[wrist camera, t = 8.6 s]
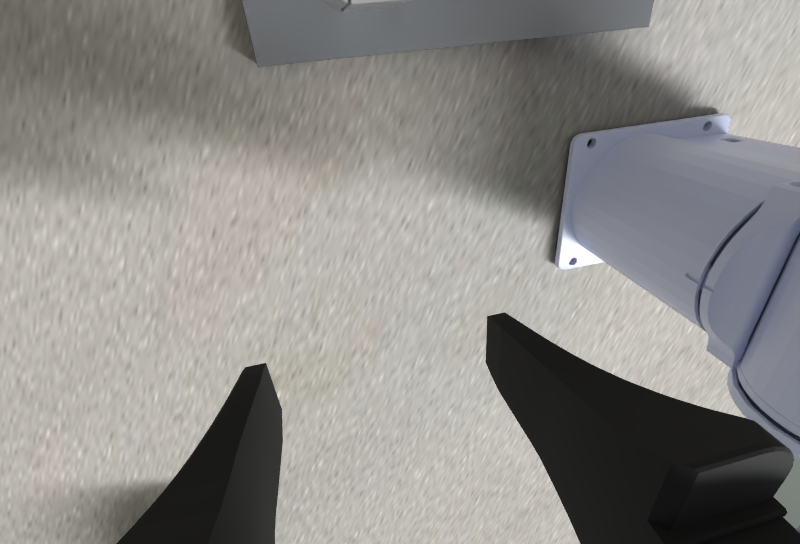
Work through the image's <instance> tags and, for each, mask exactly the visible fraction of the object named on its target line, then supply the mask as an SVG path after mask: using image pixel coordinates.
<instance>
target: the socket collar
mask: <svg viewBox="0 0 800 544" xmlns="http://www.w3.org/2000/svg"><path fill="white" fill-rule="evenodd" d="M319 1H321V2H323V3H325V4H326V5H328V6H330V7H332V8H334V9H335V10H337V11H340V10H341V9H342V12H352V11H364V10H375V9H387V8H395V7H397V6H400V5H402V4H404V3H406V2H409V1H411V0H319Z"/></svg>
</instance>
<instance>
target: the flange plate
mask: <svg viewBox="0 0 800 544" xmlns="http://www.w3.org/2000/svg"><path fill="white" fill-rule="evenodd" d="M653 2H654V0H411V1H409V2H406V3H404V4H402V5H400V6H397V7H395V8H387V9H375V10H364V11H352V12H342V9H341V10H340V11H337V10H335V9H334V8H332V7H330V6H328V5H326V4H325V3H323V2H321V1H319V0H242V3H243V7H244V11H245V15H246V19H247V24H248V28H249V32H250V36H251V41H252V45H253V49H254V53H255V57H256V62H257V66H258V67H260V66H270V65H280V64H290V63H300V62H309V61H319V60H329V59H339V58H348V57H358V56H368V55H378V54H388V53H397V52H407V51H417V50H427V49H437V48H446V47H456V46H466V45H476V44H486V43H495V42H505V41H515V40H525V39H534V38H544V37H554V36H564V35H574V34H583V33H593V32H603V31H613V30H623V29H632V28H642V27H649V22H650V17H651V12H652V7H653Z"/></svg>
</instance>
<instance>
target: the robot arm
mask: <svg viewBox="0 0 800 544" xmlns="http://www.w3.org/2000/svg"><path fill="white" fill-rule="evenodd" d="M730 122H731V118H730V116H729V115H728V114H722V113H719V114H712V115H706V116H699V117H692V118H685V119H678V120H671V121H664V122H657V123H650V124H643V125H636V126H629V127H622V128H615V129H608V130H601V131H594V132H587V133H580V134H577V135H576V136H575V137H574V138H573V139H572V141H571V144H570V150H569V158H568V166H567V173H566V181H565V189H564V196H563V204H562V212H561V219H560V227H559V235H558V242H557V250H556V258H555V265H556V267H558V268H559V269H561V270H566V269H571V268H576V267H581V266H586V265H591V264H596V263H601V262H605V263H607V264H608V265H610V266H611V267H613V268H614V269H616V270H617V271H619V272H620V273H621V274H623V275H624V276H626V277H627V278H629V279H630V280H632V281H633V282H634V283H636V284H637V285H639V286H640V287H642V288H643V289H645V290H646V291H648V292H649V293H650V294H652V295H653V296H655V297H656V298H658V299H659V300H661V301H662V302H663V303H665V304H666V305H668V306H669V307H671V308H672V309H674V310H675V311H677V312H678V313H679V314H681V315H682V316H684V317H685V318H687V319H688V320H690V321H691V322H692V323H694V324H695V325H697V326H698V327H700V328H701V329H703V330H704V331H706V332H707V333H708V337H709V341H708V345H707V351H708V352H710V353H711V354H712V355H714V356H715V357H716V358H718V359H719V360H721V361H722V362H723V363H725V364H726V365H727V366H729V367H730V370H729V373H728V381H727V385H728V389H729V393H730V395H731V397H732V399H733V401H734V403H735V404H736V406H737V407H738V408H739V410H740V411H741V412H742V414H743V415H744V416H745V417H746V418H747V419H746V418H742V417H738V416H734V415H730V414H726V413H722V412H718V411H714V410H710V409H707V408H703V407H700V406H697V405H694V404H690V403H687V402H684V401H681V400H677V399H674V398H671V397H669V396H666V395H663V394H660V393H657V392H654V391H652V390H649V389H647V388H644V387H641V386H639V385H636V384H634V383H631V382H629V381H626V380H624V379H622V378H619V377H617V376H615V375H613V374H611V373H608V372H606V371H604V370H602V369H600V368H598V367H596V366H594V365H592V364H590V363H588V362H586V361H584V360H582V359H580V358H578V357H577V356H575V355H573V354H571V353H569V352H567V351H566V350H564V349H562V348H560V347H559V346H557V345H555V344H554V343H552V342H550V341H549V340H547V339H546V338H544V337H542V336H541V335H539V334H538V333H536V332H534V331H533V330H531V329H530V328H528V327H527V326H525V325H523V324H522V323H520V322H519V321H517V320H516V319H514V318H513V317H511V316H509V315H508V314H506V313H500V314H496V315H491V316H487V343H486V364H487V366H488V368H489V371H490V373H491V375H492V377H493V380H494V382H495V384H496V386H497V388H498V390H499V392H500V393H501V395H502V397H503V398H504V400H505V401H506V403H507V405H508V406H509V408H510V410H511V411H512V413H513V414H514V416H515V418H516V419H517V421H518V422H519V424H520V426H521V427H522V429H523V430H524V432H525V434H526V435H527V437H528V438H529V440H530V442H531V443H532V445H533V446H534V448H535V450H536V452H537V453H538V455H539V457H540V459H541V461H542V463H543V465H544V467H545V469H546V471H547V473H548V475H549V477H550V479H551V481H552V483H553V485H554V487H555V489H556V491H557V493H558V495H559V497H560V499H561V502H562V504H563V506H564V508H565V510H566V512H567V514H568V516H569V519H570V521H571V523H572V525H573V528H574V530H575V532H576V534H577V537H578V539H579V541H580V543H581V544H800V526H799V527H798V528H796V529H795V528H794V527H793V526H791V524H789V523H788V522H787V521H786V520H785V519H784V518H783V516H785V515H786V514H787V511H786V508H784V507H783V506H782V505H781V504H780V503H779V502H778V501H777V500H776V499H775V498H774V497H773V496H774V495H775V493H776V492H777V490H778V488H779V487H780V486H781V484H782V483H783V482H784V480H785V479H786V477H787V476H788V474H789V472H790V470H791V468H792V466H793V461H794V458H793V455H795V456H796V457H798V458H800V148H798V147H792V146H787V145H782V144H777V143H772V142H766V141H761V140H756V139H751V138H746V137H741V136H735V135H730V134H727V132H728V129H729V125H730ZM705 123H706V124H705ZM704 125H705V126H704ZM703 127H704V128H703ZM590 139H591V140H592V141H591V144H590V145H589V146H588V147H587V143H588V141H589V140H590ZM572 258H573V260H572V261H571V262H570V260H571V259H572ZM282 442H283V436H282V409H281V406H280V403H279V400H278V397H277V394H276V391H275V388H274V385H273V382H272V380H271V377H270V374H269V371H268V368H267V365H266V363H264V364H259V365H254V366H250V367H245V369H244V370H243V371H242V373H241V375H240V377H239V379H238V380H237V382H236V384H235V386H234V388H233V389H232V391H231V393H230V395H229V396H228V398H227V400H226V402H225V403H224V405H223V407H222V408H221V410H220V412H219V413H218V415H217V417H216V418H215V420H214V422H213V423H212V425H211V426H210V428H209V430H208V431H207V433H206V434H205V436H204V437H203V438H202V440H201V441H200V443H199V444H198V446H197V447H196V449H195V450H194V452H193V453H192V455H191V456H190V457H189V459H188V460H187V462H186V463H185V464H184V466H183V467H182V468H181V470H180V471H179V472H178V474H177V475H176V476H175V478H174V479H173V480H172V481H171V483H170V484H169V485H168V486H167V488H166V489H165V490H164V491H163V493H162V494H161V495H160V496H159V497H158V498H157V500H156V501H155V502H154V503H153V504H152V505H151V507H150V508H149V509H148V510H147V511H146V512H145V513H144V514H143V516H142V517H141V518H140V519H139V520H138V521H137V522H136V523H135V525H134V526H133V527H132V528H131V529H130V530H129V531H128V532H127V533H126V534H125V535H124V536H123V537H122V538H121V539H120V540H119V541H118V543H117V544H275V519H276V507H277V496H278V486H279V475H280V465H281V454H282Z"/></svg>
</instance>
